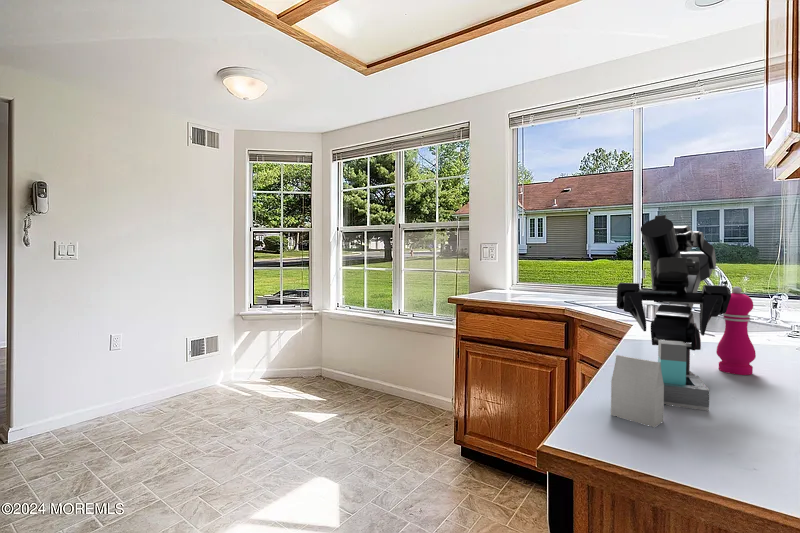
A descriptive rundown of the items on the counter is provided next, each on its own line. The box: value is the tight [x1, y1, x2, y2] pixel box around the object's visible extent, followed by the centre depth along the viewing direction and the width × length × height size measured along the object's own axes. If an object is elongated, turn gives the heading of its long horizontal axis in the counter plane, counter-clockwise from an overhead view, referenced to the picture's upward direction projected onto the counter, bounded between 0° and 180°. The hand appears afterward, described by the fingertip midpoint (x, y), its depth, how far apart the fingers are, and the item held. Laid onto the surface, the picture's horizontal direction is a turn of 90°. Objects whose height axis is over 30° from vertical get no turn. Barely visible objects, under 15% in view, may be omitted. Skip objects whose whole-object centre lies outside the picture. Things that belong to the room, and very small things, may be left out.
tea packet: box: [610, 354, 665, 428], centre depth 71 cm, size 4×7×10 cm, turn 40°
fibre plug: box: [657, 340, 686, 385], centre depth 81 cm, size 4×4×10 cm
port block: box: [664, 374, 710, 412], centre depth 81 cm, size 10×10×4 cm
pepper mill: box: [716, 285, 757, 376], centre depth 99 cm, size 7×7×20 cm
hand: (673, 332), depth 79 cm, fingers open, 9 cm apart
